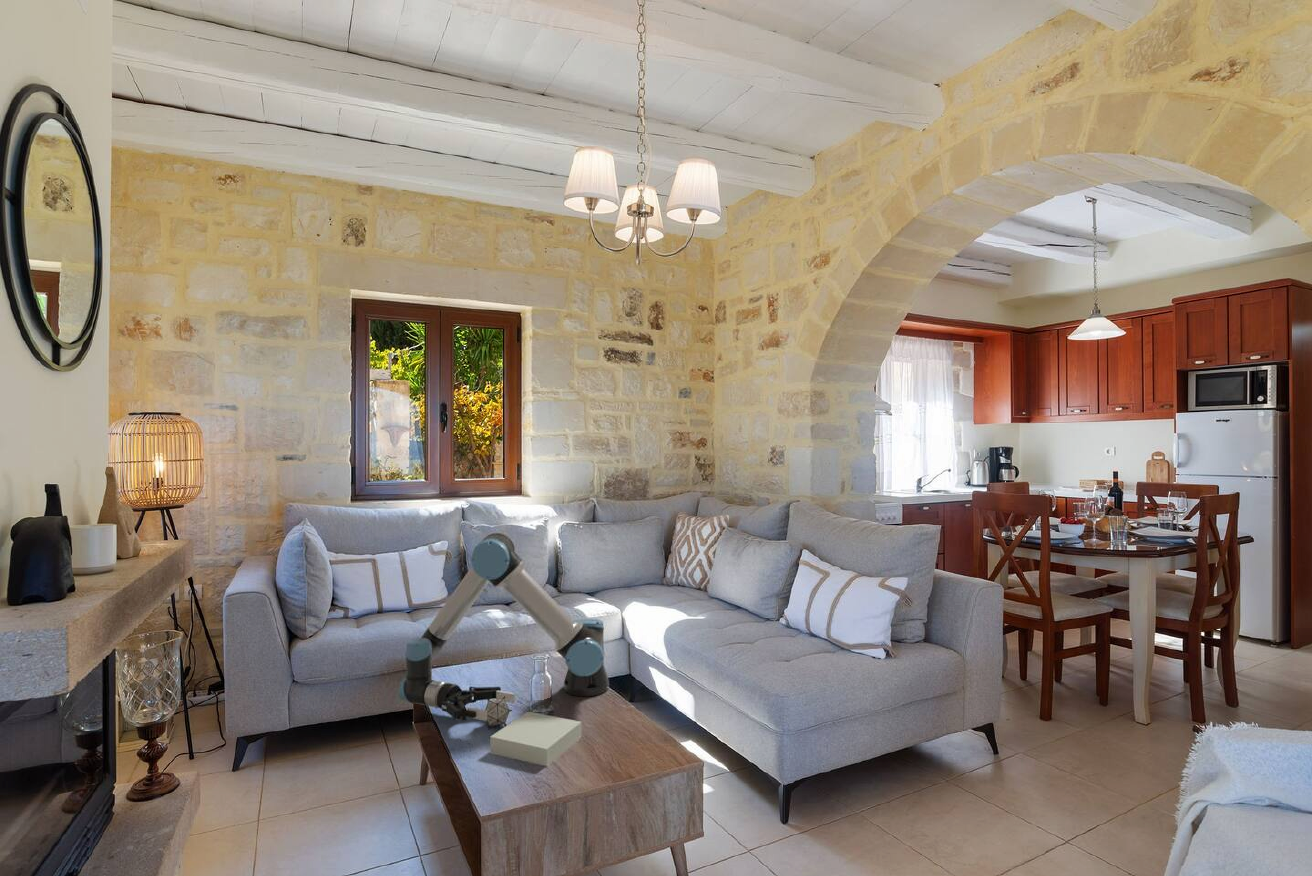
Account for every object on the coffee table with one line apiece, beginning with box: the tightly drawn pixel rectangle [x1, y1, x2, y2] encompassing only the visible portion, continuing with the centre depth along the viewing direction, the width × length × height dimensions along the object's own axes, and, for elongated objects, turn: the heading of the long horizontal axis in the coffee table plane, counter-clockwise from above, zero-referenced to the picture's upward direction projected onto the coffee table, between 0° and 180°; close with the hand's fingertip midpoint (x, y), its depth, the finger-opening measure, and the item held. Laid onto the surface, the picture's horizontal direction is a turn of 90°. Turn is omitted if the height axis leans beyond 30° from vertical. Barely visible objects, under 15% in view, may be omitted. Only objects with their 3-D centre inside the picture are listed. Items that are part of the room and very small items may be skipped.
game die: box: [484, 696, 513, 729], centre depth 206 cm, size 9×8×10 cm
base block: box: [489, 711, 583, 767], centre depth 194 cm, size 18×18×5 cm
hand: (501, 707), depth 205 cm, fingers open, 13 cm apart
